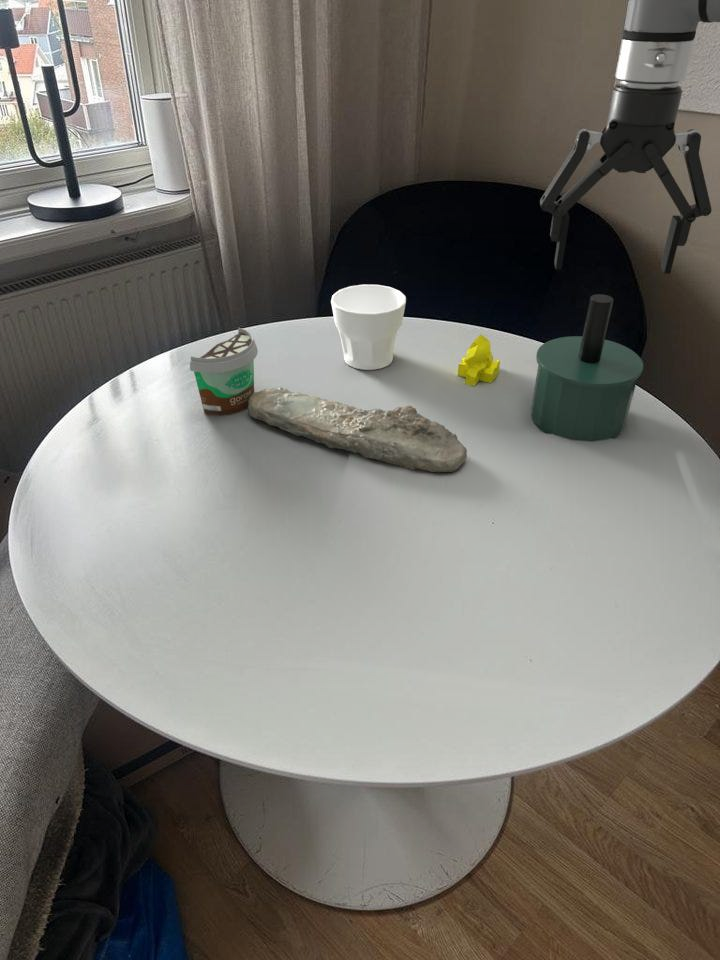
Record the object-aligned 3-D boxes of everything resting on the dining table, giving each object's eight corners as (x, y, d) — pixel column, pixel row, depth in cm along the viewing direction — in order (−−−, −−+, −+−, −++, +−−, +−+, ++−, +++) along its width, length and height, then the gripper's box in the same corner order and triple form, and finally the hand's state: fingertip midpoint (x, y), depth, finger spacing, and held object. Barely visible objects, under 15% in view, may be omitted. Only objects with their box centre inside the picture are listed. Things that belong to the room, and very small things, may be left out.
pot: (617, 399, 111) (630, 344, 105) (630, 447, 100) (646, 389, 95) (529, 393, 113) (538, 338, 107) (532, 440, 102) (542, 382, 96)
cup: (380, 337, 129) (380, 278, 123) (418, 364, 121) (421, 303, 114) (320, 353, 124) (317, 293, 118) (355, 383, 116) (354, 320, 109)
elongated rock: (272, 400, 114) (236, 433, 107) (267, 372, 111) (230, 403, 104) (478, 447, 99) (450, 488, 93) (478, 416, 96) (450, 456, 89)
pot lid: (632, 346, 106) (649, 281, 100) (649, 395, 95) (669, 324, 88) (533, 340, 108) (543, 275, 102) (537, 387, 96) (549, 317, 90)
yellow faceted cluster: (502, 367, 120) (507, 325, 115) (487, 388, 114) (492, 345, 109) (469, 360, 122) (473, 318, 117) (453, 381, 116) (456, 337, 111)
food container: (229, 427, 105) (221, 367, 99) (197, 416, 108) (187, 357, 102) (277, 391, 114) (272, 334, 108) (247, 382, 116) (240, 326, 110)
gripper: (537, 87, 78) (514, 274, 91) (776, 89, 75) (718, 282, 88) (534, 78, 84) (513, 254, 97) (755, 79, 81) (704, 261, 94)
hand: (610, 268), depth 92 cm, fingers open, 13 cm apart
